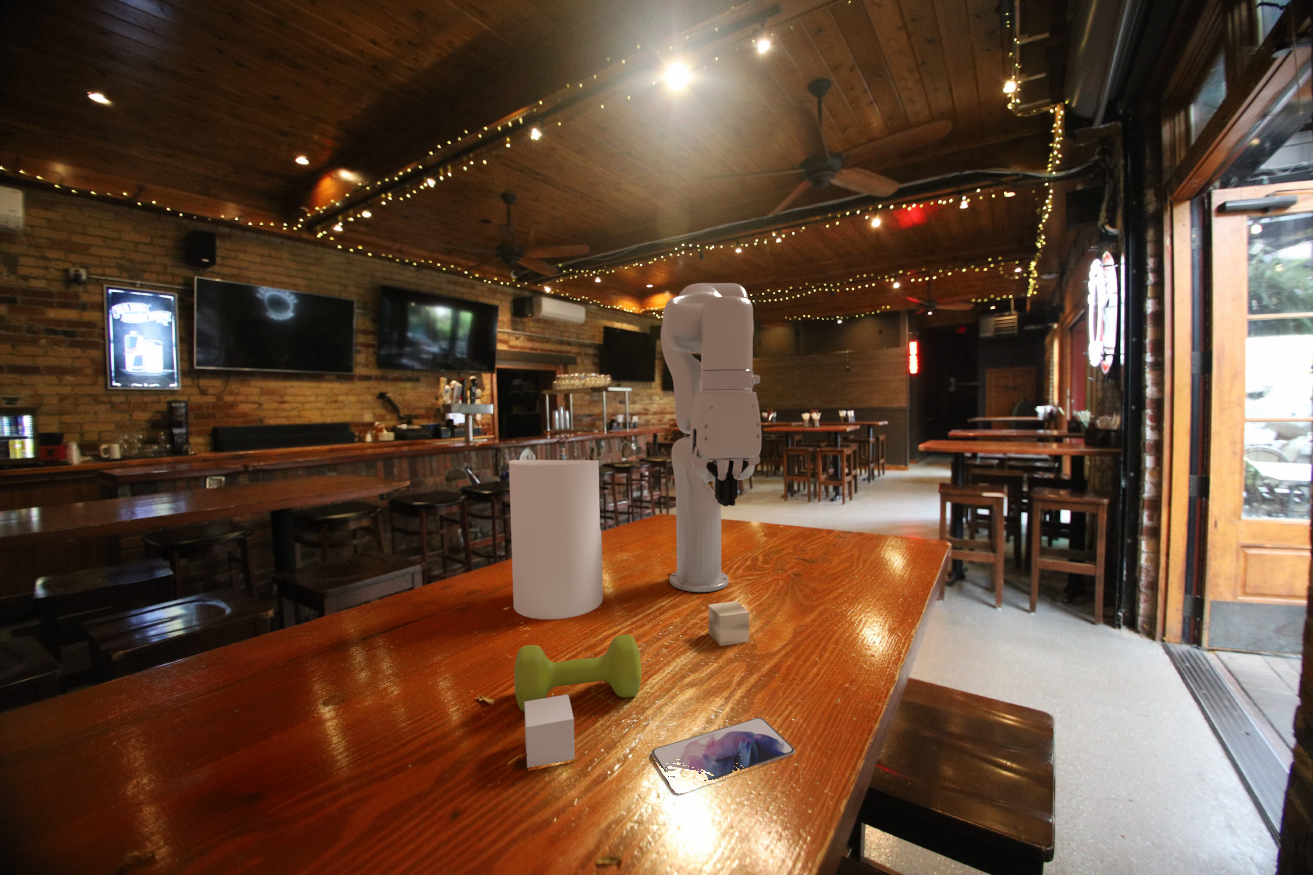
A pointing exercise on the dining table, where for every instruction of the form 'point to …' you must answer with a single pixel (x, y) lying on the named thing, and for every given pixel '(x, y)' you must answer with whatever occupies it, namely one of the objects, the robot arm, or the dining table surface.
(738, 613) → the maple block
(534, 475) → the cylinder
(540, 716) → the grey block
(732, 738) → the smartphone
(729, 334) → the robot arm
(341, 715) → the dining table surface
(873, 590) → the dining table surface
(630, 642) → the dumbbell
